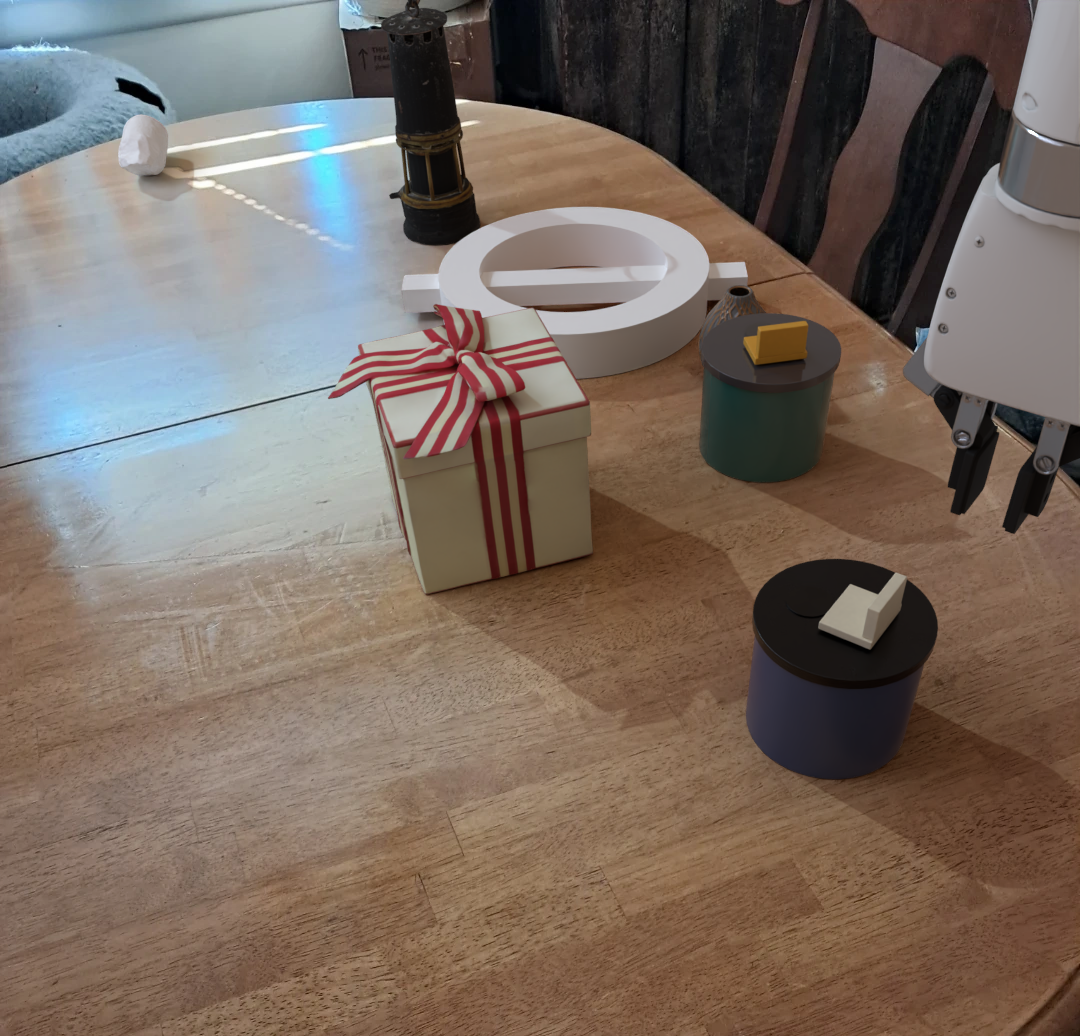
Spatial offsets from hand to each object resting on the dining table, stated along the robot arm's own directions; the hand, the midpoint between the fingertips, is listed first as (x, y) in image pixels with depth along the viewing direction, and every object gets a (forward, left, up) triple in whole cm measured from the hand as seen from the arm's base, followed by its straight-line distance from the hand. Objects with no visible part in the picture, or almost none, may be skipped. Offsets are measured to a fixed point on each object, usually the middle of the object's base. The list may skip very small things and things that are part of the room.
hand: (992, 508), depth 63 cm
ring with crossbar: (+56, -39, -21) cm, 72 cm away
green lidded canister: (+27, -27, -21) cm, 44 cm away
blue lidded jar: (+7, 0, -21) cm, 22 cm away
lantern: (+81, -47, -21) cm, 96 cm away
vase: (+35, -36, -21) cm, 55 cm away
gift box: (+41, -3, -21) cm, 46 cm away
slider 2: (+6, 0, -11) cm, 13 cm away
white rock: (+126, -40, -21) cm, 134 cm away
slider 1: (+26, -26, -11) cm, 39 cm away
